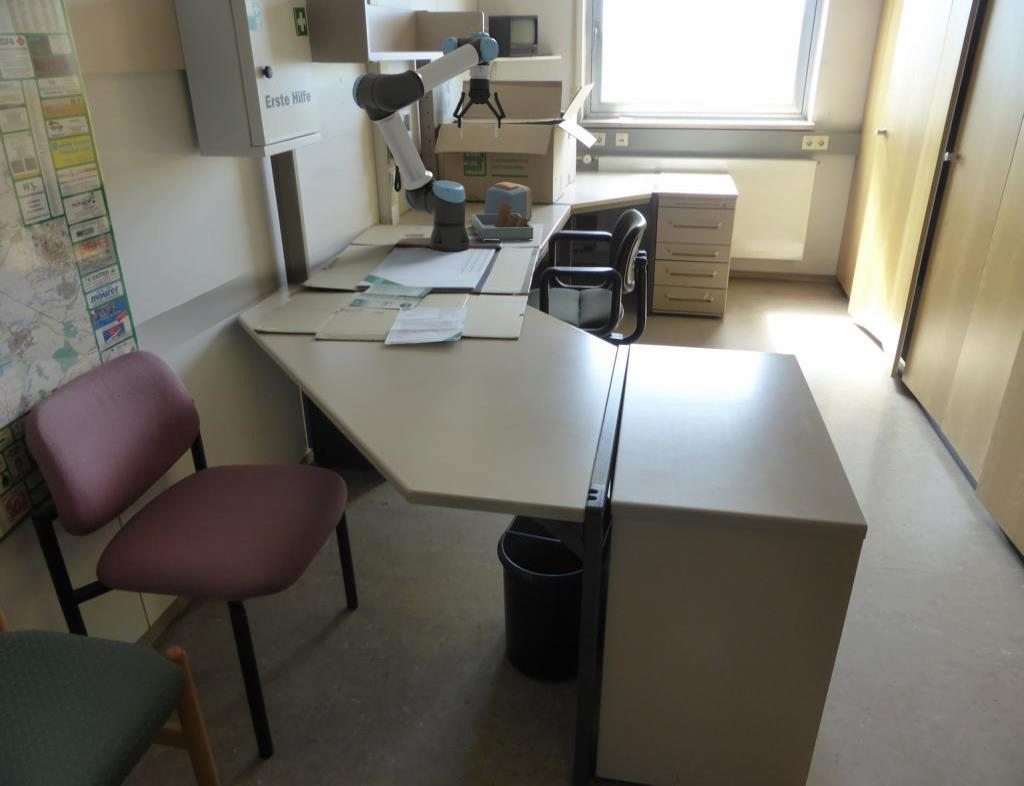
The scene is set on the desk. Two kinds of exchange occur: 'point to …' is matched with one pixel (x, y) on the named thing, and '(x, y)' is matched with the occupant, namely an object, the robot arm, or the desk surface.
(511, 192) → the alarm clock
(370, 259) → the desk surface
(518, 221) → the wooden block set
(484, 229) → the crate
